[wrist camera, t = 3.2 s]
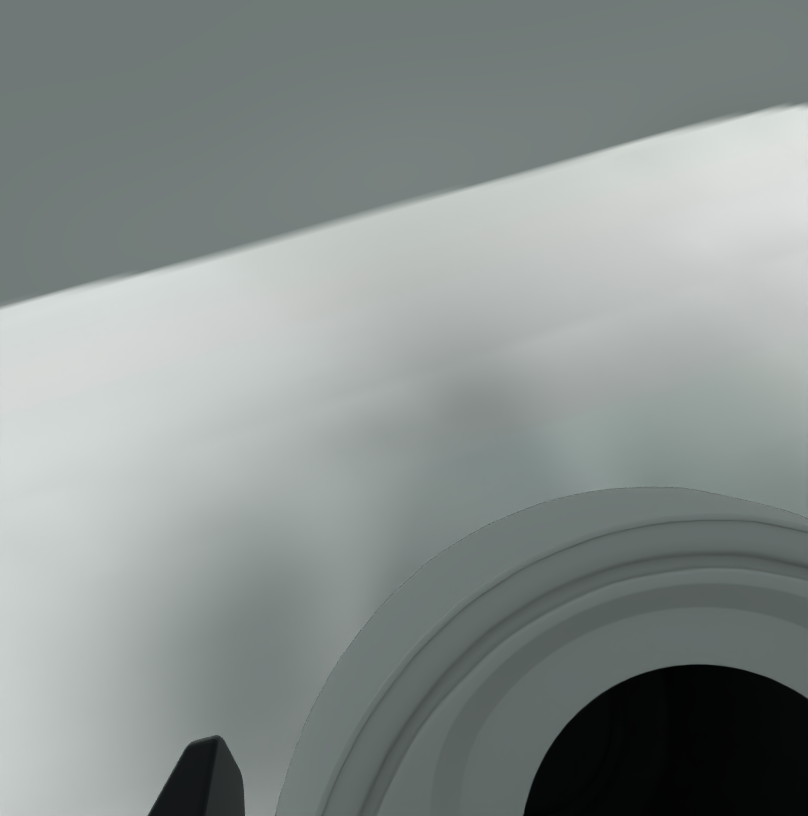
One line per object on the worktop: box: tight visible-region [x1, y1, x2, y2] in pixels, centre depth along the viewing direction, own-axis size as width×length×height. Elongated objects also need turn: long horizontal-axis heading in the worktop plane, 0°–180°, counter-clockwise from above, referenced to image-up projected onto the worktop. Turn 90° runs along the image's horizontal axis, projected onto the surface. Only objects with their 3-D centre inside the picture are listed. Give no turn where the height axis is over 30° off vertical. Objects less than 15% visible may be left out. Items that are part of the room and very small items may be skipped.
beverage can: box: [275, 487, 808, 816], centre depth 10 cm, size 6×6×12 cm
